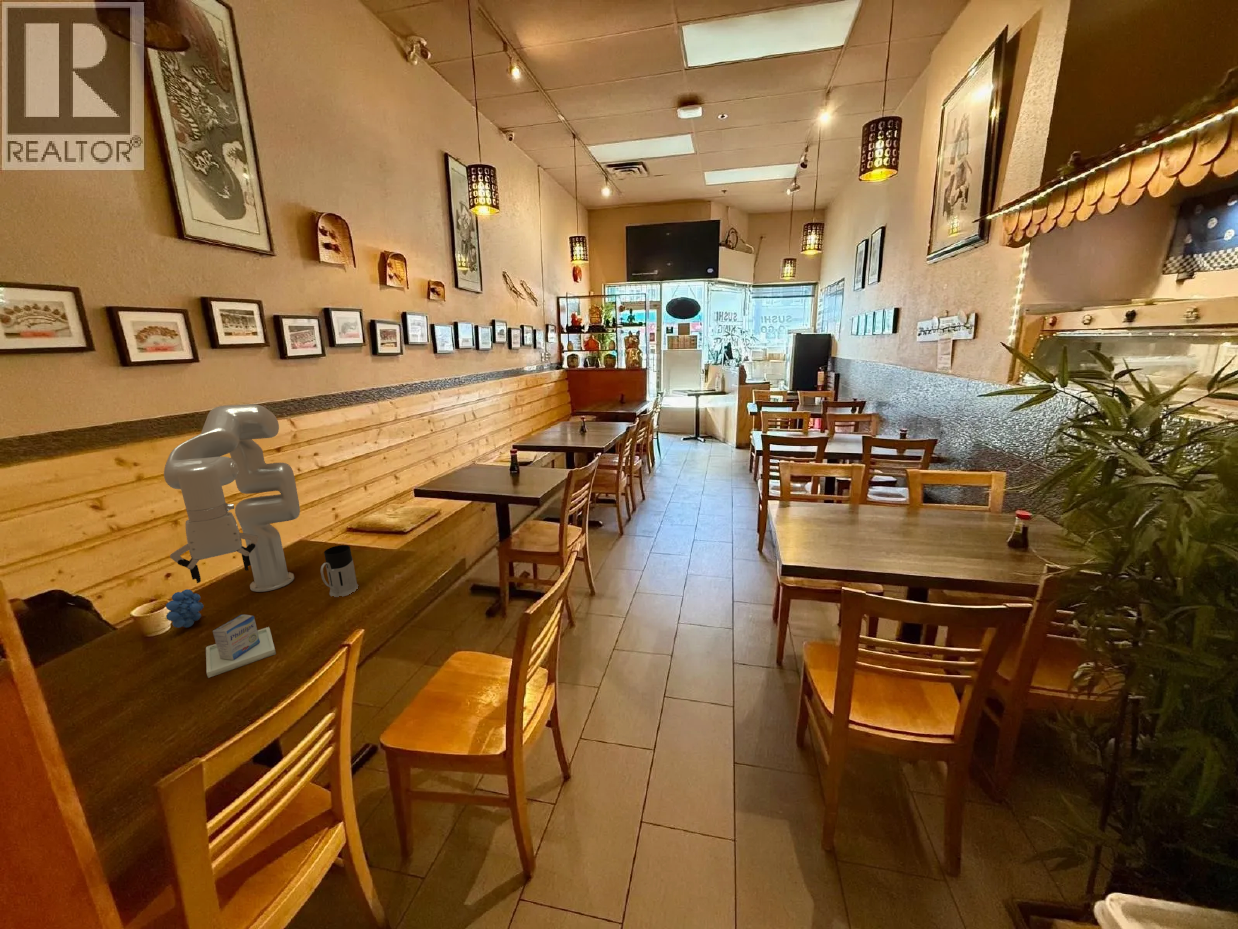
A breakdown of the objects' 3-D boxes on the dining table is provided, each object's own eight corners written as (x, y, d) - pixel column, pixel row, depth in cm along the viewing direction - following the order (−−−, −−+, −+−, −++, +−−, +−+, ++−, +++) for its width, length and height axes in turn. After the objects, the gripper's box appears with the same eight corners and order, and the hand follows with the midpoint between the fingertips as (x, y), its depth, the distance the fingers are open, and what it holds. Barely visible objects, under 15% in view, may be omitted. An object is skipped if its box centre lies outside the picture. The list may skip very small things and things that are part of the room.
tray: (207, 651, 128) (205, 647, 127) (270, 631, 136) (269, 626, 136) (208, 678, 117) (206, 672, 117) (275, 654, 126) (274, 649, 126)
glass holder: (363, 583, 163) (357, 543, 160) (341, 605, 150) (334, 562, 146) (338, 584, 163) (331, 544, 160) (314, 606, 150) (305, 563, 146)
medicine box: (233, 661, 123) (225, 632, 121) (219, 659, 124) (211, 630, 121) (260, 642, 130) (254, 615, 128) (247, 641, 131) (241, 613, 129)
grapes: (190, 637, 134) (180, 599, 131) (164, 639, 134) (153, 601, 131) (219, 614, 146) (210, 579, 143) (195, 616, 145) (186, 581, 142)
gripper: (250, 501, 125) (263, 559, 130) (161, 517, 114) (178, 580, 119) (252, 508, 120) (265, 569, 124) (159, 525, 109) (177, 591, 113)
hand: (223, 574), depth 121 cm, fingers open, 9 cm apart
